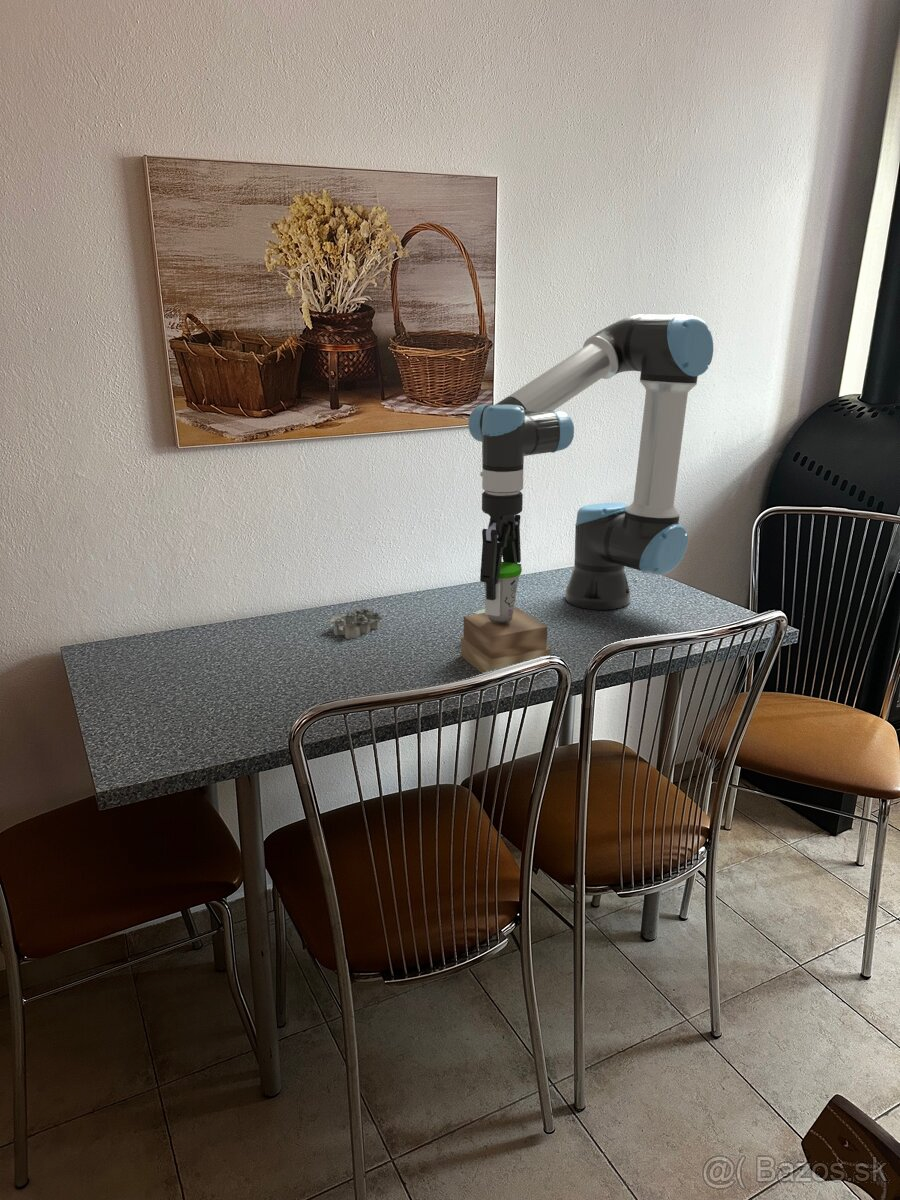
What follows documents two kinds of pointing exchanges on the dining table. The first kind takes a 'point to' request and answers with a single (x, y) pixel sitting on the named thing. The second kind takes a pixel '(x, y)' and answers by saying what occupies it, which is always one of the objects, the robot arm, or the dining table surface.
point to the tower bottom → (487, 664)
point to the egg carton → (356, 623)
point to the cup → (507, 590)
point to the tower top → (505, 634)
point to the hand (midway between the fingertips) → (500, 607)
